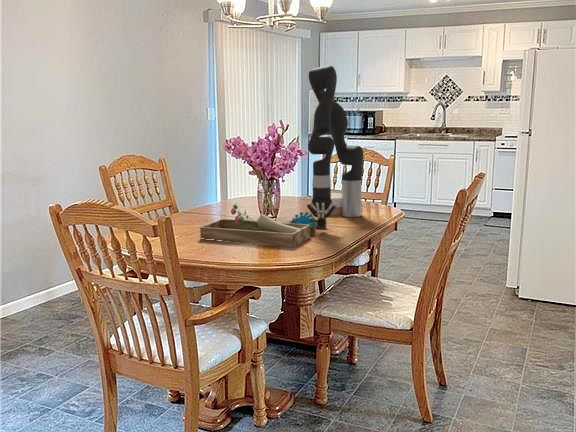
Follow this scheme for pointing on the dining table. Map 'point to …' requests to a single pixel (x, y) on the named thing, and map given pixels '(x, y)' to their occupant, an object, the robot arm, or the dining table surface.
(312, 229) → the cradle
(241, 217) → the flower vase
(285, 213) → the dining table surface
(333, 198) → the bowl
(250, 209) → the dining table surface
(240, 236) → the wooden tray
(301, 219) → the gear
